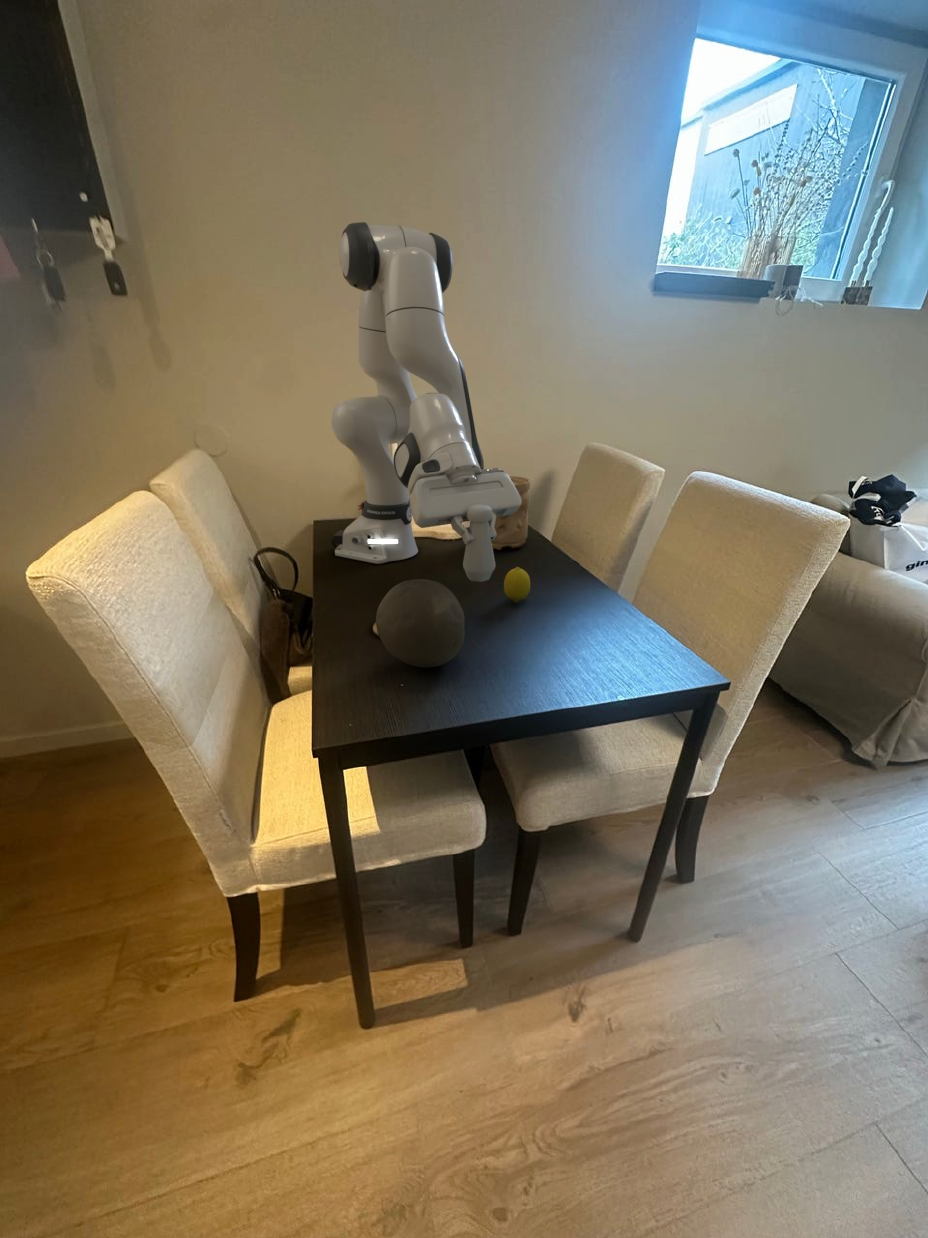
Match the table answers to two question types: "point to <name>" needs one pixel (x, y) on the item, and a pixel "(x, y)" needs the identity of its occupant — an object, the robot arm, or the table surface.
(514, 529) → the container
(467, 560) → the salt shaker
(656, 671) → the table surface
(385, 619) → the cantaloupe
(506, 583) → the lemon
